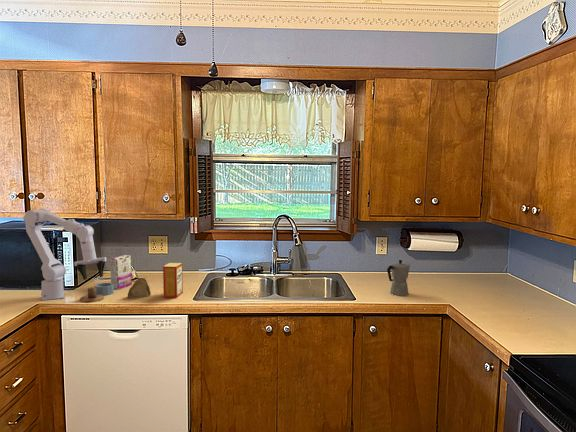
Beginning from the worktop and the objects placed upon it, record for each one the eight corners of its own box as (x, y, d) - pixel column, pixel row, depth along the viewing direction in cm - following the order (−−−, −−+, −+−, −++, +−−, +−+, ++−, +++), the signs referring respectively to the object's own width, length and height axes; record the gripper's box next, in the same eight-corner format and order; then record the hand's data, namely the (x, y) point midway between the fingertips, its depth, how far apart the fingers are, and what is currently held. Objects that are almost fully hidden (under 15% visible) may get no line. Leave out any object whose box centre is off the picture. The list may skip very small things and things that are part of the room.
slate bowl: (95, 296, 207) (95, 287, 206) (94, 292, 214) (94, 283, 214) (114, 294, 211) (114, 285, 210) (112, 290, 218) (112, 282, 218)
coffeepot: (402, 290, 225) (403, 257, 223) (415, 294, 217) (416, 260, 215) (380, 293, 217) (381, 259, 216) (393, 298, 209) (394, 263, 208)
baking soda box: (170, 292, 215) (169, 262, 214) (182, 292, 215) (182, 262, 214) (163, 297, 206) (163, 265, 205) (176, 298, 206) (176, 266, 204)
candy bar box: (124, 283, 232) (124, 254, 230) (132, 284, 230) (131, 255, 228) (110, 288, 221) (109, 258, 220) (118, 289, 219) (117, 259, 218)
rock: (122, 295, 201) (141, 293, 200) (125, 278, 206) (144, 276, 205) (132, 303, 210) (151, 301, 209) (135, 287, 215) (153, 285, 214)
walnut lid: (80, 304, 195) (79, 292, 194) (80, 298, 204) (79, 287, 204) (104, 301, 200) (104, 290, 199) (103, 295, 209) (102, 284, 208)
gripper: (69, 254, 197) (74, 282, 198) (100, 249, 197) (105, 277, 198) (76, 251, 204) (81, 278, 205) (106, 247, 204) (110, 274, 205)
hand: (93, 278), depth 202 cm, fingers open, 7 cm apart
